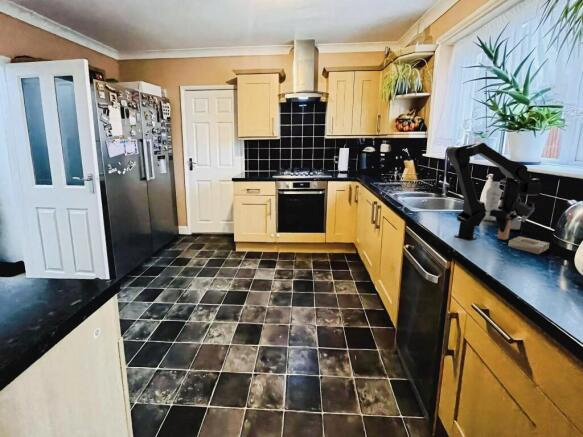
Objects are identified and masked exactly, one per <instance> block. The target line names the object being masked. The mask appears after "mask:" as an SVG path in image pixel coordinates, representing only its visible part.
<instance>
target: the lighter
mask: <svg viewBox="0 0 583 437" xmlns="http://www.w3.org/2000/svg"><path fill="white" fill-rule="evenodd" d="M529 217H530V216H527V217H526V216H524V215H522V216H521V217H520V218H519V217H517V218H515V219H514V220H513V221H512V223H511V226H510V230H520V229H521V223H522V222H523V223H525V222H526V220H527V219H528V218H529Z"/></svg>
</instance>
